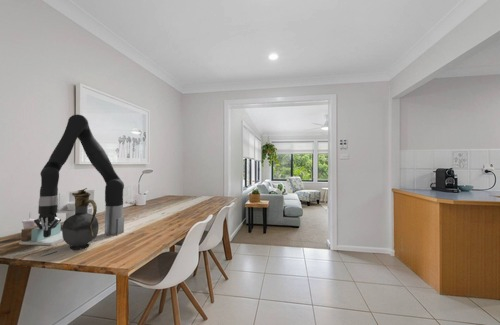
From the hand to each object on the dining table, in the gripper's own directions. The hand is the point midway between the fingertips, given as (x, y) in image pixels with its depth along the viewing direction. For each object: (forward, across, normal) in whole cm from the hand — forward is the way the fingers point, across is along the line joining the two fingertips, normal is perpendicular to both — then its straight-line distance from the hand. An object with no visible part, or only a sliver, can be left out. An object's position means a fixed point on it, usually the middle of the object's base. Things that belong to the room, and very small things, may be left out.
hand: (46, 236), depth 113 cm
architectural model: (+3, +12, -35) cm, 37 cm away
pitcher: (+3, -24, +7) cm, 25 cm away
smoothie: (+3, +19, -9) cm, 21 cm away
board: (+3, +3, -7) cm, 8 cm away
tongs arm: (+2, +6, -6) cm, 9 cm away
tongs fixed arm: (+1, +9, -5) cm, 11 cm away
